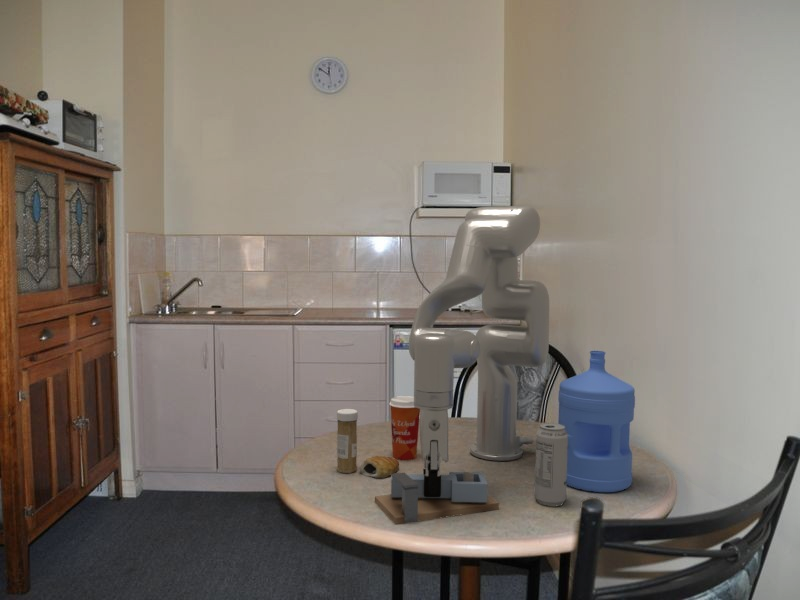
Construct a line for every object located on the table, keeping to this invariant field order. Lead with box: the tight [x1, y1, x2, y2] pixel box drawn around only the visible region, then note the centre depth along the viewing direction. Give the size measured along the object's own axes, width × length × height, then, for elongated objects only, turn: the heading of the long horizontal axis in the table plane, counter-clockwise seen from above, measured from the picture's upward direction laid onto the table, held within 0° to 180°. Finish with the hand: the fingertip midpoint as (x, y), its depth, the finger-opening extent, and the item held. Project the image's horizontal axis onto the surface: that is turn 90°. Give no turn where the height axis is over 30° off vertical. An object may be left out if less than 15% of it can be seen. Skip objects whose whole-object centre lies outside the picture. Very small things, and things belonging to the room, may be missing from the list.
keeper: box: [391, 472, 419, 524], centre depth 117 cm, size 2×7×7 cm, turn 22°
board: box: [374, 471, 500, 525], centre depth 122 cm, size 21×11×6 cm, turn 112°
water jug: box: [557, 350, 636, 493], centre depth 136 cm, size 16×16×28 cm
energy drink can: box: [534, 422, 568, 507], centre depth 124 cm, size 6×6×15 cm
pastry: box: [359, 455, 400, 479], centre depth 141 cm, size 9×7×4 cm
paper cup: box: [388, 395, 420, 461], centre depth 152 cm, size 8×8×14 cm
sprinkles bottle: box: [336, 408, 359, 474], centre depth 141 cm, size 5×5×14 cm
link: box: [390, 471, 489, 502], centre depth 123 cm, size 18×7×4 cm, turn 90°
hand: (431, 492), depth 123 cm, fingers closed on link, 3 cm apart
